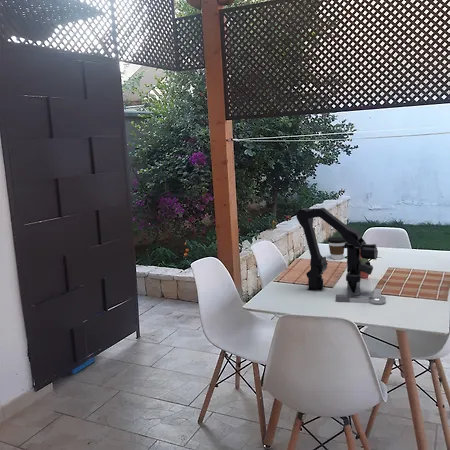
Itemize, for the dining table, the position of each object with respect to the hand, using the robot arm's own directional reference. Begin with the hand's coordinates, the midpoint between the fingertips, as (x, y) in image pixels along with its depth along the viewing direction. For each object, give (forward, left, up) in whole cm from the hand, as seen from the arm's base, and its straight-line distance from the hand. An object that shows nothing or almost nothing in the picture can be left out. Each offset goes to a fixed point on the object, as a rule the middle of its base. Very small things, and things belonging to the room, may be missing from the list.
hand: (353, 290), depth 216 cm
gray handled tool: (+3, -11, -1) cm, 11 cm away
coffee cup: (-11, +64, -1) cm, 65 cm away
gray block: (0, 0, -1) cm, 1 cm away
